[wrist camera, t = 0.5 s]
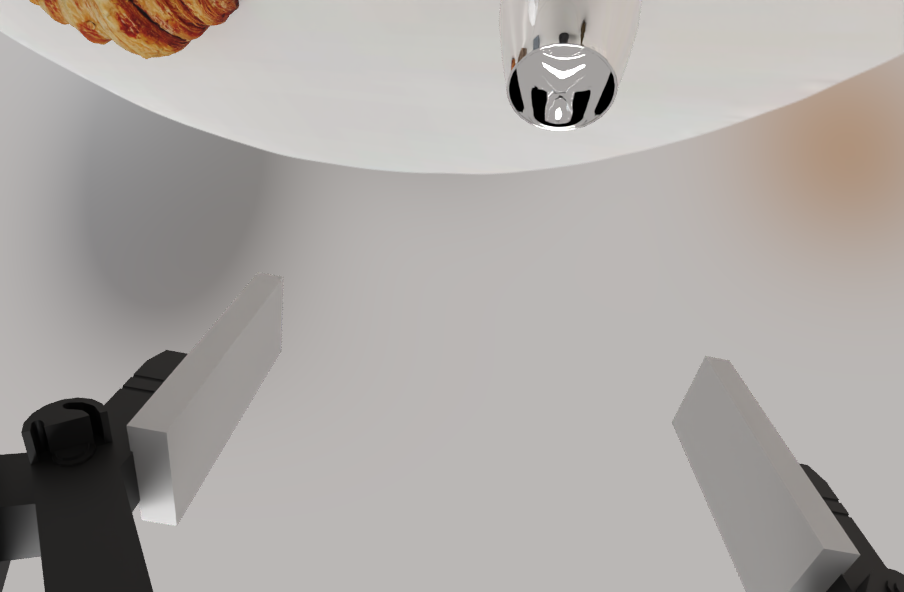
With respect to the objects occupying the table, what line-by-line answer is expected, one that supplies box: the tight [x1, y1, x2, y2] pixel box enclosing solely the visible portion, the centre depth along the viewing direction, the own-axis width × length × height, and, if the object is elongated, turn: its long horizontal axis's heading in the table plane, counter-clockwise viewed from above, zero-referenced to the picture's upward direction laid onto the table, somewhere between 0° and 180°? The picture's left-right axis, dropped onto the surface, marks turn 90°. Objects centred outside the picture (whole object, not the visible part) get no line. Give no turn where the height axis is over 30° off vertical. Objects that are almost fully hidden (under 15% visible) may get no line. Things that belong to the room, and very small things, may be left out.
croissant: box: [30, 0, 239, 59], centre depth 48 cm, size 21×10×8 cm, turn 98°
